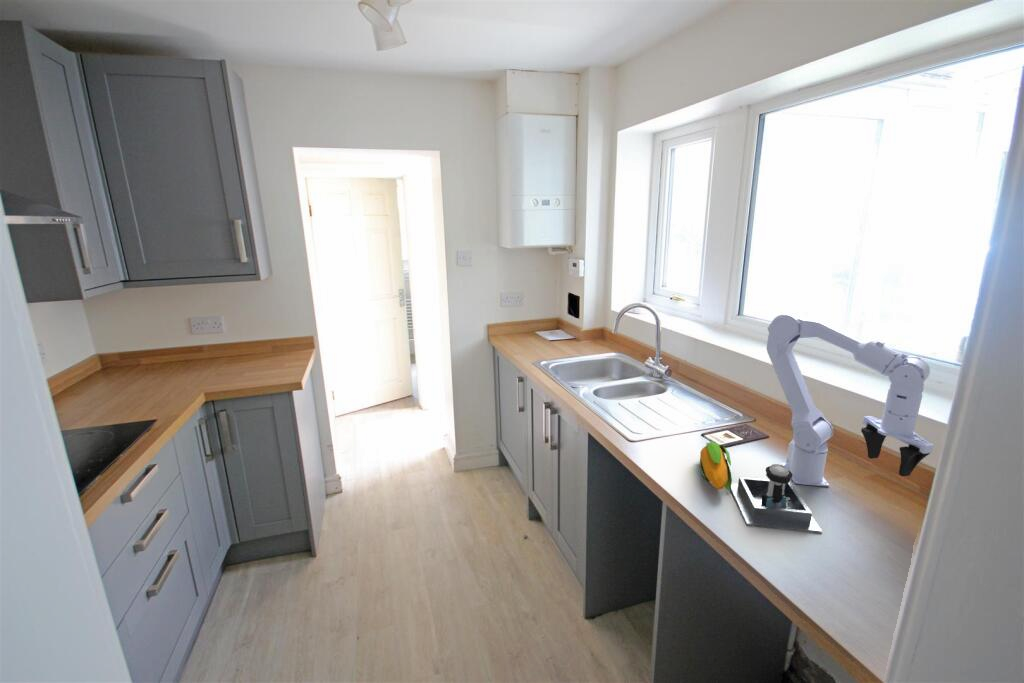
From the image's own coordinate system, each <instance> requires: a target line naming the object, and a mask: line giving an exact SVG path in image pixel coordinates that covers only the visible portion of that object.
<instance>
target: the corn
mask: <svg viewBox="0 0 1024 683" xmlns="http://www.w3.org/2000/svg"><path fill="white" fill-rule="evenodd" d="M705 444H706V445H705V446H704V447H702V449H701V450H700V452H699V453H700V455H699V456H700V459H699V462H700V464H699V465H700V469H701V472H702V474H703V475H702V476H703V477H704V479H705V481H706V482H707V483H711V485H712V486H713V487H714V488H716V489H717V491H720V490H723V489H725V490H726V491H727V492H729V491H731V490H730V489H731V484H732V483H733V479H732V473H731V469H730V466H731V465H732V463H731V456H730V452H729V450H727V448H725V447H724V446H722V445H719V444H717V443H713V442H712V441H710V442H706V443H705Z"/></svg>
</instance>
